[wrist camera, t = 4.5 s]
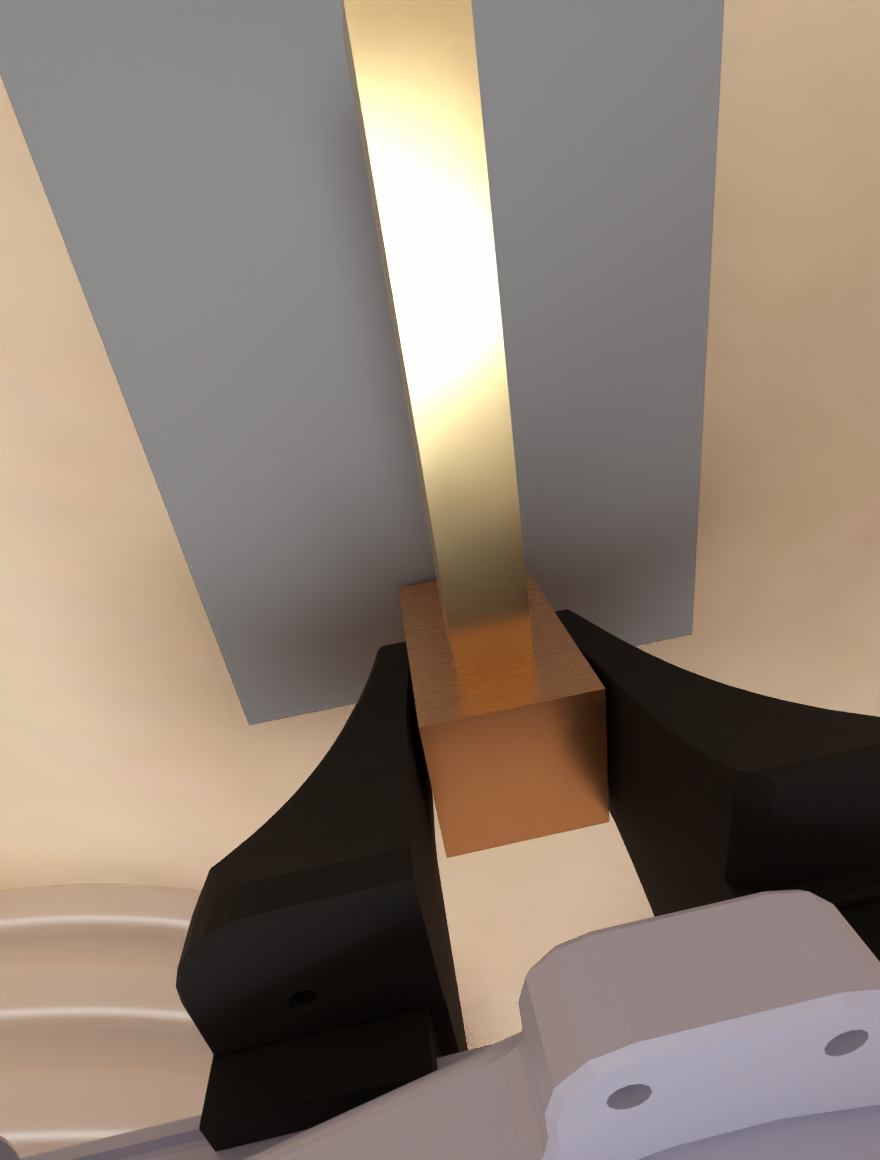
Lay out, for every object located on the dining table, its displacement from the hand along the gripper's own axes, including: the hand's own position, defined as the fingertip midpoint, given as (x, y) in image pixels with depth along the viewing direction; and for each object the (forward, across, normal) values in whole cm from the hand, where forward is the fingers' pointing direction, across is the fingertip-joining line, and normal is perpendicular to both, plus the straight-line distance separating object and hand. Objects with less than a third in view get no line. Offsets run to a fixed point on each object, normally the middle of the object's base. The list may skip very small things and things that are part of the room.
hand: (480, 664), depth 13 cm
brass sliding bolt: (+1, 0, -5) cm, 5 cm away
